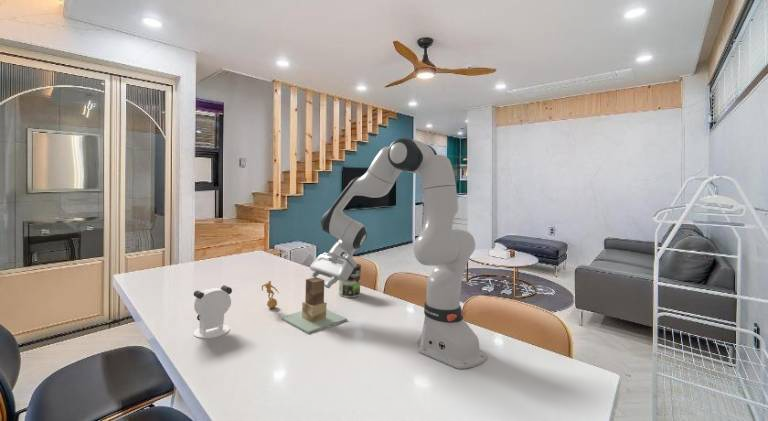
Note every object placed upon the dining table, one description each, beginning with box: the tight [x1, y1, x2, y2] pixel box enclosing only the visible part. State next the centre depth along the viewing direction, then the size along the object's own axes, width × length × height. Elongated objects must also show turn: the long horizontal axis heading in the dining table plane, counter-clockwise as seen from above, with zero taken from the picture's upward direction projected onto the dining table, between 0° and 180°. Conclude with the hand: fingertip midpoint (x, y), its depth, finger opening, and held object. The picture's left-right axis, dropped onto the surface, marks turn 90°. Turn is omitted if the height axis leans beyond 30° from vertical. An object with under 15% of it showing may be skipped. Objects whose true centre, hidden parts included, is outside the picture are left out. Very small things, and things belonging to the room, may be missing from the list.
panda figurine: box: [193, 285, 233, 340], centre depth 122 cm, size 12×11×15 cm
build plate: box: [280, 309, 348, 335], centre depth 136 cm, size 18×18×1 cm
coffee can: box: [338, 263, 362, 298], centre depth 168 cm, size 10×10×14 cm
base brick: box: [301, 301, 327, 322], centre depth 136 cm, size 6×6×6 cm
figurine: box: [261, 280, 280, 309], centre depth 145 cm, size 8×6×12 cm
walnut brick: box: [304, 276, 325, 306], centre depth 135 cm, size 5×5×9 cm
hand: (318, 284), depth 136 cm, fingers open, 8 cm apart
